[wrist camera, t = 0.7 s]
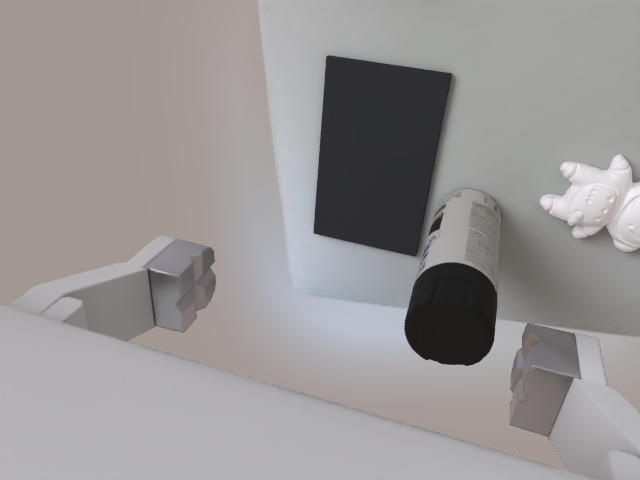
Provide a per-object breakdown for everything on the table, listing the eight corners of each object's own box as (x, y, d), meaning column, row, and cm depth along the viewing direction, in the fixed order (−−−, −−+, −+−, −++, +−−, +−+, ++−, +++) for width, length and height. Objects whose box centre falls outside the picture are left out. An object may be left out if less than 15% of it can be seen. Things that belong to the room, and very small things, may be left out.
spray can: (437, 183, 55) (401, 292, 39) (506, 189, 53) (499, 306, 37) (434, 240, 58) (399, 362, 42) (499, 247, 56) (490, 378, 40)
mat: (328, 55, 52) (326, 56, 52) (451, 73, 49) (451, 74, 49) (315, 231, 63) (313, 233, 62) (416, 254, 60) (415, 256, 59)
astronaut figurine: (580, 134, 48) (583, 145, 46) (705, 192, 47) (715, 207, 45) (527, 210, 53) (527, 223, 51) (639, 264, 52) (645, 281, 50)
